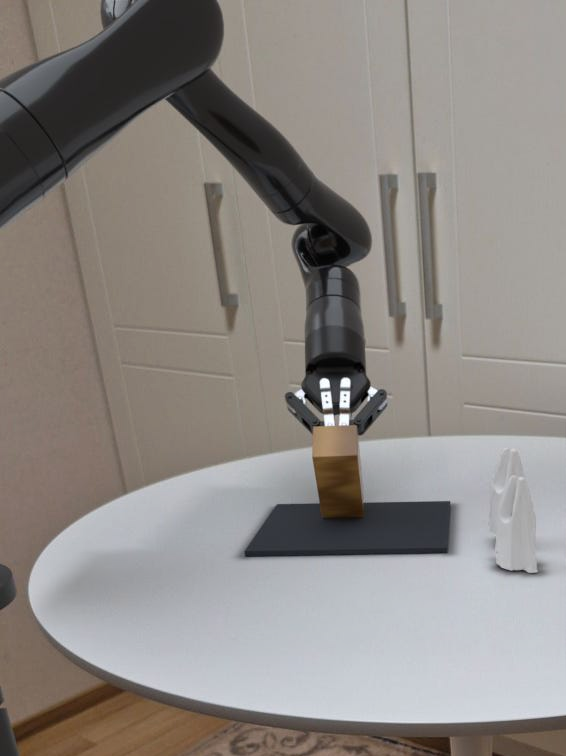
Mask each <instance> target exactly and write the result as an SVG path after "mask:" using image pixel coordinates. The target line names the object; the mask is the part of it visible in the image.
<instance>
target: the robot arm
mask: <svg viewBox="0 0 566 756" xmlns="http://www.w3.org/2000/svg"><path fill="white" fill-rule="evenodd" d="M99 5H100V6H99V7H100V8H99V9H100V10H99V14H100V22H101V27H102V30H101V31H99V32H98V33H96V34H95V35H94V36H92V37H91V38H89V39H88V40H86V41H84V42H82V43H81V42H80V43H79V44H77V45H75V46H72V47H69V48H67V49H65V50H62V51H59V52H57V53H54V54H52V55H49V56H47V57H44V58H42V59H39V60H37V61H34V62H32V63H30V64H27V65H25V66H23V67H20V68H18V69H16V70H14V71H12V72H10V73H8V74H6V75H4V76H2V77H0V232H1V231H3V229H5V228H6V227H8V226H9V225H11V224H12V223H13V222H14V221H16V220H17V219H18V218H20V217H21V216H23V215H24V214H25V213H27V212H28V211H30V210H31V209H32V208H33V207H35V206H37V205H38V204H39V203H40V202H41V201H43V200H45V199H46V198H47V196H49V195H50V194H52V193H53V192H54V191H55V190H56V189H58V188H59V187H60V186H61V185H63V183H65V182H66V181H67V180H69V178H70V177H72V176H73V175H74V174H75V173H76V172H77V171H78V170H79V169H80V168H81V167H82V166H83V165H85V164H86V163H87V162H88V161H89V160H90V159H92V158H93V157H94V156H96V155H97V154H98V153H99V152H100V151H102V150H103V149H104V148H105V147H106V146H108V145H109V144H110V143H111V142H112V141H114V139H115V138H117V136H119V134H121V133H122V132H123V131H124V130H125V129H126V128H127V127H128V126H130V125H131V124H132V123H133V122H134V121H135V120H136V119H138V118H139V117H141V116H142V115H143V114H144V113H146V112H147V111H148V110H150V109H152V108H153V107H154V106H156V105H158V104H159V103H161V102H162V101H164V100H165V101H166V102H167V103H168V104H169V105H170V106H171V107H173V109H175V110H176V112H178V113H179V114H180V115H181V116H182V117H183V118H184V119H185V120H186V121H187V122H188V123H190V124H191V125H192V126H193V128H195V129H196V130H197V131H198V132H199V133H200V134H201V135H202V136H203V137H204V138H205V139H206V140H207V141H208V142H209V143H210V144H211V145H212V146H213V147H214V148H215V149H216V151H218V153H220V154H221V155H222V156H223V157H224V159H225V160H226V161H227V162H228V163H229V164H230V165H231V166H232V167H233V168H234V169H235V171H236V172H237V173H238V174H239V175H240V177H241V178H242V179H243V180H244V181H245V182H246V184H247V185H248V186H249V187H250V188H251V190H252V191H253V192H254V193H255V194H256V196H257V197H258V198H259V200H260V201H262V202H263V205H265V206H266V208H268V210H269V211H270V212H271V213H272V214H273V216H275V218H276V219H277V220H278V221H279V222H280V223H282V224H284V225H287V226H297V227H296V229H294V232H293V234H292V237H291V244H290V245H291V250H292V254H293V256H294V260H295V261H296V264H297V266H298V270H299V272H300V276H301V278H302V283H303V285H304V290H305V312H306V313H305V321H304V373H305V375H304V377H303V379H302V381H301V383H300V389H299V390H297V391H295V392H292V391H287V392H286V393H285V394H284V400H285V403H286V408H287V410H288V412H289V413H290V414H291V415H292V416H294V418H295V419H296V420H297V421H298V422H299V423H300V424H301V425H302V426H303V427H304V428H305V429H306V430H307V431H308V432H309V433H310V434H311V435H312V436H313V427H316V426H336V419H335V416H337V415H339V418H338V426H345V425H357V430H358V437H359V436H364V435H365V433H366V432H367V431H368V430H369V429H370V427H371V426H372V425H373V424H374V423H375V422H376V420H377V419H378V418H379V417H380V416H381V415H382V413H384V411H385V410H386V408H387V407H388V395H387V390H386V389H384V388H380V389H376V388H375V387H373V386H372V385H371V384H372V383H371V381H370V378H369V377H368V376H367V359H366V341H367V340H366V336H365V325H364V321H363V315H362V298H361V297H362V295H361V294H362V293H361V285H360V280H359V278H358V276H357V275H356V274H355V272H353V270H351V268H348V267H350V266H353V265H356V264H357V263H360V262H362V261H363V260H365V259H366V258H368V256H369V255H370V253H371V251H372V247H373V235H372V234H373V233H372V230H371V228H370V225H369V223H368V221H367V220H366V218H365V216H364V215H363V214H362V213H361V212H360V211H359V210H358V209H357V208H356V207H355V206H354V204H352V203H351V202H349V201H348V200H347V199H346V198H344V197H343V196H342V195H340V194H339V193H337V192H336V191H334V189H332V188H331V187H329V185H327V184H326V183H324V182H323V181H322V180H320V179H319V178H318V177H317V175H316V174H315V173H314V172H313V171H312V170H311V169H312V168H310V166H309V165H308V164H307V163H306V161H305V160H304V159H303V157H302V156H301V155H300V154H299V152H298V151H297V149H296V148H295V146H293V144H291V142H290V141H289V140H288V138H287V137H285V136H284V135H285V134H283V133H282V132H281V131H280V130H279V129H278V128H277V127H276V126H274V125H273V123H271V122H270V121H269V120H268V119H266V118H265V117H264V116H262V115H261V114H260V113H259V112H258V111H257V110H256V109H254V108H253V107H252V106H251V105H249V104H248V103H247V102H245V101H244V100H243V99H242V98H241V97H240V96H239V95H237V93H235V91H233V90H232V89H231V88H230V87H229V86H228V85H227V84H226V83H225V82H224V81H223V80H222V79H221V78H220V77H219V76H218V75H217V74H216V73H215V72H214V70H213V69H212V67H213V66H214V65H215V64H216V62H217V60H218V58H219V56H220V53H221V52H222V48H223V44H224V41H225V40H224V39H225V19H224V15H223V11H222V8H221V5H220V3H219V2H218V0H100V4H99ZM365 400H366V401H367V403H365V404H364V406H363V407H362V409H360V411H358V409H359V408H360V407H361V405H362V404H363V403H364V402H365ZM307 401H308V402H309V403H310V404H311V405H312V406H313V408H314V409H316V411H318V413H320V414H322V415H323V421H322V420H320V418H319V417H318V416H317V415H316V414H315V413H314V412H313V411H312V410H311V409H309V407H308V406H307V405H308V404H307ZM356 411H358V413H357V414H356V415H355V416H354V418H353V414H354V413H356Z"/></svg>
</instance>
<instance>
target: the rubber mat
mask: <svg viewBox="0 0 566 756" xmlns="http://www.w3.org/2000/svg"><path fill="white" fill-rule="evenodd" d="M450 516H451V501H450V500H432V501H430V500H429V501H427V500H426V501H425V500H424V501H380V502H377V501H374V502H372V501H371V502H369V501H368V502H364V517H344V518H322V514H321V508H320V502H317V503H315V502H314V503H313V502H312V503H277V504H275V506H274V508H273V509H272V511H271V512H270V513H269V515H268V516H267V518H266V519H265V521H264V522H263V524H262V525H261V526H260V528H259V529H258V531H257V532H256V534H255V535H254V537H253V538H252V539H251V540H250V542H249V543H248V545H247V546H246V548H245V550H244V551H243V552H244V557H271V556H272V557H274V556H275V557H277V556H279V557H280V556H282V557H283V556H284V557H285V556H286V557H287V556H332V555H334V556H338V555H339V556H340V555H389V554H390V555H393V554H396V555H397V554H398V555H399V554H444V553H448V548H449V533H450V519H451V517H450Z"/></svg>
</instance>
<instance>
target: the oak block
mask: <svg viewBox="0 0 566 756" xmlns="http://www.w3.org/2000/svg"><path fill="white" fill-rule="evenodd" d="M311 453H312V454H311V455H312V456H311V459H312V464H313V470H314V476H315V477H314V478H315V482H316V489H317V496H318V503H320V508H321V514H322V518H344V517H364V503H365V502H364V498H365V497H364V480H363V471H362V461H361V460H362V459H361V450H360V441H359V435H358V430H357V425H345V426H339V425H335V426H316V427H313V435H312V451H311Z"/></svg>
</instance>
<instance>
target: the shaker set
mask: <svg viewBox="0 0 566 756" xmlns="http://www.w3.org/2000/svg"><path fill="white" fill-rule="evenodd" d="M489 497H490V499H489V517H488V522H487V524H488V526H489V532H490V533H491V534H492V536H493V537H494V538H495V544H494V550H493V554H494V555H495V563H496V565H498V566H499V567H500V568H502V569H505V570H508V571H515V572H516V571H522V570H523V571H525V572H527V574H536V573H538V572H539V571H538V563H537V554H536V542H537V541H536V539H537V538H536V537H537V536H536V535H537V534H536V533H537V518H536V511H535V508H534V505H533V499H532V496H531V491H530V487H529V484H528V481H527V480H526V475H525V470H524V467H523V463H522V459H521V455H520V452H519V451H518V449H516V448H510V447H504V448H503V450H502V451H501V453H500V455H499V458H498V459H497V462H496V466H495V468H494V471H493V476H492V479H491V484H490V496H489Z"/></svg>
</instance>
